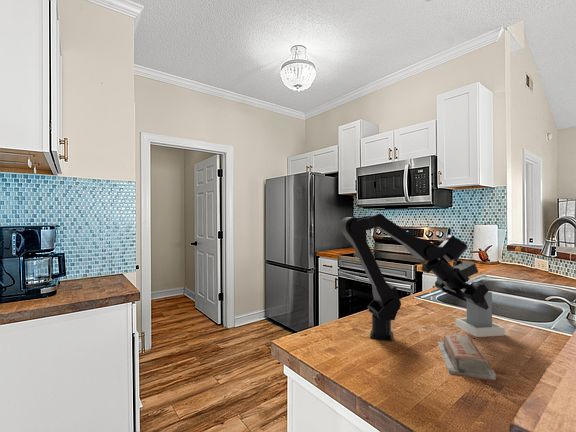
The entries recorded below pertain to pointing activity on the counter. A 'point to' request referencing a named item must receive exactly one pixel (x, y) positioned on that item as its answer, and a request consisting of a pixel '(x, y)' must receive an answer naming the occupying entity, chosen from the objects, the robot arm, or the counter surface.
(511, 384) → the counter surface
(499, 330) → the tray
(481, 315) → the slate block
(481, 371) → the packaged product
